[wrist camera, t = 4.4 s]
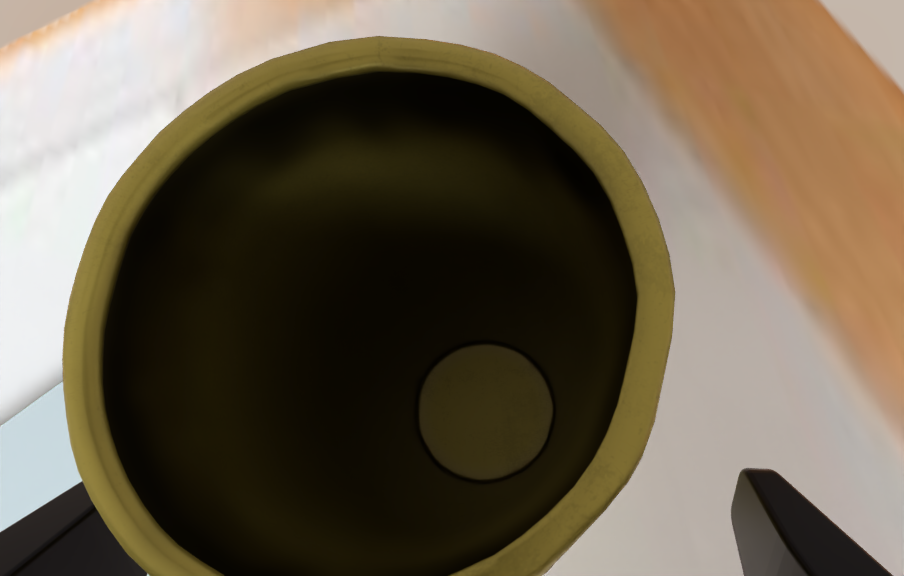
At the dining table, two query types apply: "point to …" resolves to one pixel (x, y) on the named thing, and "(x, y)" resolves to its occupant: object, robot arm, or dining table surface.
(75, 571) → the robot arm
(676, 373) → the dining table surface
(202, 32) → the dining table surface
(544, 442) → the vase
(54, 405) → the picture board
